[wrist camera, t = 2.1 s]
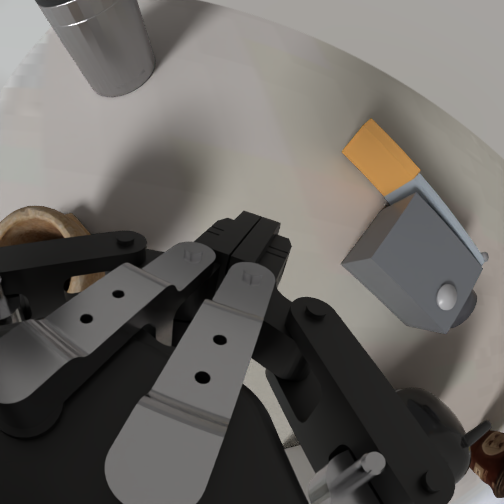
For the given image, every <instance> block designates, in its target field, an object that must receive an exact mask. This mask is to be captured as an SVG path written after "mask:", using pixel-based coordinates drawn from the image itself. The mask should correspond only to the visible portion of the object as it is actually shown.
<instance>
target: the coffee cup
mask: <svg viewBox="0 0 504 504" xmlns="http://www.w3.org/2000/svg"><path fill="white" fill-rule="evenodd" d="M470 468H471V469H472V470H473V472H474V473H476V474H477V475H478V476H479V477H480V479H481V480H482V481H483V482H485V483H486V484H488V485H489V486H490V487H491V489H492V490H493V493H494V495H495V497H497V498H504V433H502V432H498V431H490V430H489V431H488V432H486V433H485V434H484V435H483V436H482V437H481V438H480V439H479V440H477V441H476V442H475V443H474V444H473V445H472V446H471V464H470Z"/></svg>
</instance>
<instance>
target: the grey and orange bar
mask: <svg viewBox="0 0 504 504" xmlns="http://www.w3.org/2000/svg"><path fill="white" fill-rule="evenodd" d="M342 153H343V154H344V155H345V156H346V157H347V158H348V159H349V160H350V161H351V162H352V163H353V164H354V165H355V166H356V167H357V168H358V169H359V170H360V171H361V172H362V173H363V174H364V175H365V176H366V177H367V178H368V179H369V180H370V182H371V183H372V184H373V185H374V186H375V187H376V188H377V189H378V190H379V191H380V192H381V193H382V195H383V196H384V198H385V199H386V200H387V201H388V202H389V204H390V205H392V204H394V203H396V202H398V201H400V200H402V199H404V198H406V197H408V196H410V195H412V194H414V193H416V192H417V193H418V194H419V196H420V197H421V198H422V199H423V200H424V201H425V202H426V203H427V204H428V205H429V206H430V207H431V208H432V209H433V210H434V211H435V212H436V214H437V215H438V216H439V217H440V218H441V219H442V220H443V221H444V222H445V223H446V225H447V226H448V227H449V228H450V229H451V230H452V231H453V233H454V234H455V235H456V236H457V237H458V238H459V240H460V241H461V242H462V243H463V244H464V246H465V247H466V248H467V249H468V250H469V252H470V253H471V254H472V255H473V257H474V258H475V259H476V260H477V262H478V263H479V264H480V266H482V265H483V263H484V262H487V261H488V254H487V253H486V252H483V253H480V251H479V250H478V248H477V247H476V246H475V244H474V243H473V241H472V240H471V238H470V237H469V235H468V234H467V233H466V231H465V230H464V228H463V227H462V226H461V224H460V223H459V222H458V220H457V219H456V218H455V216H454V215H453V214H452V212H451V211H450V210H449V208H448V207H447V206H446V204H445V203H444V202H443V201H442V199H441V198H440V197H439V196H438V194H437V193H436V192H435V191H434V189H433V188H432V187H431V186H430V185H429V183H428V182H427V181H426V180H425V179H424V178H423V176H422V175H421V174H420V173H419V172H420V171H421V170H420V169H419V168H418V167H417V166H416V164H415V163H414V162H413V161H412V160H411V159H410V158H409V157H408V156H407V154H406V153H405V152H404V151H403V150H402V149H401V148H400V147H399V146H398V145H397V144H396V143H395V142H394V141H393V140H392V138H391V137H390V136H389V135H388V134H387V133H386V132H385V131H384V130H383V129H382V128H381V127H380V126H379V125H378V124H377V123H376V122H375V121H374V120H373V119H372V118H370V119H369V120H368V121H367V122H366V123H365V124H364V125H363V126H362V127H361V128H360V130H359V131H358V132H357V133H356V135H355V136H354V137H353V138H352V140H351V141H350V142H349V143H348V145H347V146H346V147H345V148H344V149H343V151H342Z"/></svg>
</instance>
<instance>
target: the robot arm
mask: <svg viewBox="0 0 504 504" xmlns="http://www.w3.org/2000/svg"><path fill="white" fill-rule="evenodd" d="M35 1H36V2H37V4H38V6H39V7H40V9H41V10H42V12H43V14H44V15H45V17H46V18H47V20H48V21H49V23H50V24H51V26H52V28H53V29H54V31H55V32H56V34H57V35H58V37H59V38H60V40H61V42H62V43H63V45H64V46H65V48H66V49H67V51H68V52H69V54H70V55H71V57H72V58H73V60H74V61H75V63H76V65H77V66H78V68H79V69H80V71H81V72H82V74H83V75H84V77H85V78H86V80H87V81H88V83H89V84H90V86H91V87H92V89H93V90H94V91H95V92H96V93H97V94H99V95H101V96H106V97H116V96H121V95H124V94H127V93H129V92H131V91H133V90H135V89H136V88H138V87H139V86H141V85H142V84H143V83H144V82H145V81H146V80H147V79H148V78H149V76H150V75H151V73H152V71H153V69H154V66H155V57H154V54H153V51H152V47H151V44H150V41H149V37H148V34H147V31H146V28H145V25H144V21H143V18H142V15H141V12H140V8H139V5H138V2H137V0H35ZM279 229H280V223H279V222H276V221H273V220H270V219H267V218H264V217H261V216H259V215H256V214H253V213H249V212H246V211H243V212H242V213H241V214H240V215H239V216H238V217H237V218H236V219H235V220H232V219H229V218H225V219H222V220H218V221H217V222H216V223H214V224H213V225H212V227H210V228H209V229H208V230H207V231H205V232H204V233H203V234H202V235H201V236H200V237H199V238H198V239H196V240H195V241H194V242H182V243H178V244H176V245H175V246H173V247H172V248H170V249H169V250H167V251H166V252H161V251H155V250H149V249H146V248H147V241H146V239H145V237H144V236H142V235H141V234H139V233H136V232H132V231H116V232H108V233H100V234H91V235H84V236H76V237H68V238H61V239H53V240H46V241H39V242H32V243H25V244H18V245H11V246H5V247H0V504H309V503H308V500H307V498H306V496H305V494H304V492H303V490H302V488H301V485H300V483H299V481H298V479H297V477H296V474H295V472H294V470H293V468H292V465H291V463H290V461H289V459H288V457H287V454H286V452H285V450H284V447H283V445H282V443H281V441H280V438H279V436H278V434H277V431H276V429H275V427H274V424H273V422H272V420H271V417H270V415H269V413H268V411H267V410H266V408H265V407H264V405H263V404H262V402H261V401H260V400H259V399H258V397H257V396H256V395H255V394H254V393H253V392H252V391H251V390H250V389H249V388H247V387H246V386H245V385H244V384H242V383H243V381H244V378H245V375H246V372H247V369H248V366H249V363H250V360H251V358H252V359H254V360H255V361H256V362H258V363H259V364H261V365H262V366H263V367H265V368H266V372H265V373H266V377H267V380H268V382H269V384H270V386H271V388H272V390H273V392H274V394H275V396H276V398H277V400H278V402H279V404H280V406H281V408H282V410H283V412H284V414H285V416H286V418H287V420H288V422H289V424H290V426H291V428H292V430H293V432H294V434H295V436H296V438H297V440H298V441H299V443H300V445H301V447H302V449H303V451H304V453H305V455H306V457H307V459H308V461H309V463H310V464H311V466H312V468H313V470H314V472H315V475H314V476H313V477H312V478H311V480H310V482H309V485H308V497H309V500H310V503H311V504H447V503H448V502H449V501H450V500H451V498H452V496H453V494H454V490H455V479H454V475H453V473H452V470H451V469H450V467H449V466H448V464H447V463H446V461H445V460H444V458H443V457H442V456H441V454H440V453H439V451H438V450H437V448H436V447H435V446H434V444H433V443H432V441H431V440H430V438H429V437H428V436H427V434H426V433H425V431H424V430H423V429H422V427H421V426H420V424H419V423H418V422H417V420H416V419H415V417H414V416H413V415H412V413H411V412H410V411H409V409H408V408H407V406H406V405H405V404H404V402H403V401H402V400H401V398H400V397H399V395H398V394H397V393H396V391H395V390H394V389H393V387H392V386H391V385H390V383H389V382H388V380H387V379H386V378H385V376H384V375H383V374H382V372H381V371H380V370H379V368H378V367H377V366H376V364H375V363H374V362H373V360H372V359H371V358H370V356H369V355H368V354H367V352H366V351H365V350H364V348H363V347H362V346H361V344H360V343H359V342H358V340H357V339H356V338H355V336H354V335H353V334H352V332H351V331H350V330H349V329H348V327H347V326H346V325H345V323H344V322H343V321H342V319H341V318H340V317H339V315H338V314H337V313H336V312H335V310H334V309H333V308H332V307H331V306H330V305H328V304H327V303H325V302H323V301H321V300H319V299H316V298H311V297H301V298H298V299H296V300H294V301H293V302H291V301H290V300H288V299H287V298H285V297H284V296H283V295H282V294H281V293H280V292H279V291H278V289H277V287H278V284H279V282H280V280H281V277H282V274H283V271H284V268H285V265H286V262H287V259H288V256H289V253H290V250H291V247H292V246H291V243H290V240H289V239H288V238H285V237H282V236H279V235H278V232H279ZM99 272H105V276H104V277H102V278H101V279H99V280H98V281H96V282H95V283H94V284H92V285H91V286H89V287H88V288H86V289H85V290H83V291H82V292H78V293H68V292H66V291H65V290H64V283H65V281H66V280H67V279H69V278H70V277H74V276H80V275H87V274H93V273H99Z"/></svg>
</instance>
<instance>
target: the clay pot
mask: <svg viewBox="0 0 504 504" xmlns="http://www.w3.org/2000/svg"><path fill="white" fill-rule="evenodd" d="M84 235H91V234H90V233H89V232H88V231H87V229H86V228H85V227H84V226H83V225H82V224H81V222H80V221H79V220H78V219H77V218H76V217H75V216H74V215H73V214H72V213H69V214H66V215H64V214H62V213H61V212H59V211H57V210H55V209H51V208H48V207H44V206H27V207H24V208H20V209H18V210H16V211H14V212H12V213H11V214H9V215H8V216H7V217H6V218H4V219H3V220H2V221H1V222H0V247H5V246H11V245H18V244H25V243H32V242H39V241H46V240H53V239H61V238H68V237H76V236H84ZM104 276H105V272H99V273H93V274H87V275H80V276H74V277H70V278H69V279H67V280H66V281H65V283H64V290H65V291H66V292H68V293H78V292H82V291H83V290H85V289H86V288H88V287H89V286H91V285H92V284H94V283H95V282H96V281H98V280H99V279H101V278H102V277H104Z"/></svg>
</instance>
